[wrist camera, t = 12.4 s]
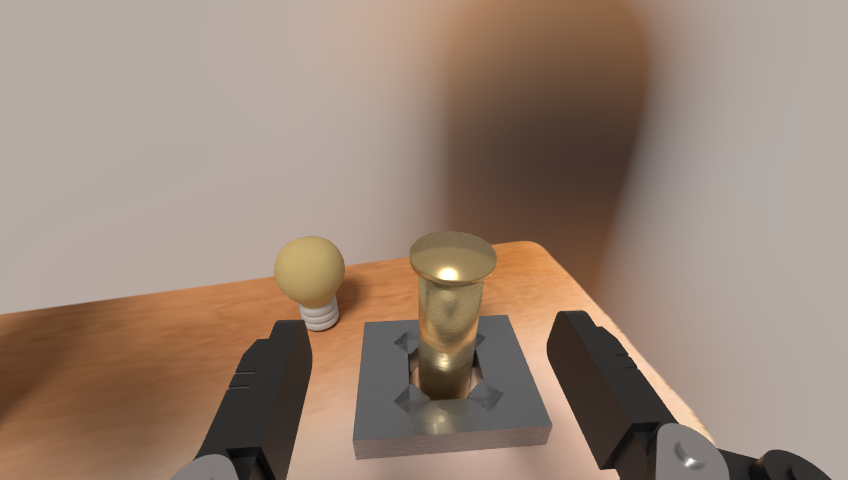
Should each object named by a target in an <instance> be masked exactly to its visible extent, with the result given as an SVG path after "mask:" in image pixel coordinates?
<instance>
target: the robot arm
mask: <svg viewBox="0 0 848 480" xmlns="http://www.w3.org/2000/svg"><path fill="white" fill-rule="evenodd" d="M547 356H548V359H549V362H550V364H551V366H552V369H553V371H554V373H555V375H556V377H557V379H558V381H559V384H560V386H561V388H562V390H563V392H564V394H565V396H566V399H567V401H568V403H569V405H570V407H571V409H572V411H573V413H574V416H575V418H576V420H577V422H578V424H579V426H580V428H581V431H582V433H583V435H584V437H585V439H586V441H587V443H588V446H589V448H590V450H591V452H592V454H593V456H594V458H595V460H596V463H597V465H598V467H599V469H600V470H605V469H616V471H617V473H618V475H619V477H620V480H831V479H830V478H829V477H828V476H827V475H826V474H825V473H824V472H823V471H821V470H820V469H819V468H817V467H816V466H815V465H813V464H812V463H810V462H809V461H807V460H805V459H803V458H802V457H800V456H798V455H795V454H793V453H790V452H787V451H783V450H771V451H768V452H767V453H766V454H764V455H763V456H762V457H761V458H760V459H755V458H751V457H748V456H744V455H740V454H736V453H732V452H728V451H725V450H721V449H718V448H716V447H715V446H714V445H713V444H712V443H711V442H710V441H709V440H708V439H707V438H705V437H704V436H703V435H702V434H700V433H698V432H697V431H695V430H693V429H691V428H689V427H687V426H685V425H681V424H679V423H678V422H677V420H676V419H675V418H674V417H673V415H672V414H671V413H670V411H669V410H668V408H667V407H666V406H665V404H664V403H663V401H662V400H661V399H660V397H659V396H658V394H657V393H656V392H655V390H654V389H653V388H652V386H651V385H650V383H649V382H648V381H647V379H646V378H645V376H644V375H643V374H642V372H641V371H640V370H638V369H637V365H636V364H635V363H634V361H633V360H632V358H631V357H629V356H628V353H627V351H626V350H625V349H624V347H623V346H622V345H621V343H620V342H619V340H618V339H617V338H616V337H614V336H613V335H612V334H611V333H610V332H608V331H607V330H606V329H605V328H603V327H602V326H601V327H597V326H596V325H595V323H594V322H593V321H592V319H591V318H590V316H589V315H588V313H586V312H585V311H583V310H580V311H560V312H558V313H557V315H556V318H555V321H554V324H553V327H552V330H551V332H550V335H549V338H548V341H547ZM311 370H312V350H311V345H310V341H309V337H308V332H307V328H306V324H305V321H304V320H278V321H276V323H275V324H274V327H273V329H272V332H271V334H270V337H269V339H257V340H256V341H255V342H254V343H253V345H252V346H251V347H250V348H249V349H248V350H247V351H246V352H245V353H244V354H243V356H242V358H241V361H240V363H239V365H238V367H237V369H236V374H235V375H234V376H233V378H232V380H231V383H230V385H229V389H228V390H227V391H226V394H225V396H224V398H223V400H222V402H221V405H220V407H219V409H218V411H217V413H216V416H215V418H214V420H213V422H212V424H211V427H210V429H209V431H208V433H207V435H206V438H205V440H204V442H203V444H202V446H201V448H200V450H199V452H198V454H197V455H196V457H195V458H194V459H193V461H192V462H190V463H188V464H187V465H186V466H184V467H183V468H182V469H180V470H179V471H178V472H177V473H176V474H175V475H174V476H173V477H172V478H171V480H286V477H287V473H288V469H289V464H290V460H291V456H292V452H293V447H294V443H295V439H296V435H297V430H298V426H299V422H300V418H301V413H302V409H303V405H304V401H305V396H306V392H307V388H308V383H309V379H310V375H311Z"/></svg>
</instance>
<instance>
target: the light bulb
mask: <svg viewBox="0 0 848 480" xmlns="http://www.w3.org/2000/svg"><path fill="white" fill-rule="evenodd" d="M344 273H345V265H344V260H343V257H342V255H341V253H340V251H339V250H338V248H337V247H336V246H335V245H334V244H333V243H332V242H330V241H329V240H327V239H325V238H322V237H314V236H309V237H302V238H298V239H296V240H293V241H291V242H289V243H288V244H286V245H285V246H284V247H283V248H282V249H281V251H280V252H279V254H278V256H277V259H276V262H275V268H274V274H275V280H276V282H277V285H278V287H279V288H280V290H281V291H282V292H283V293H284V294H285V295H286V296H287V297H289V298H290V299H292V300H294V301H296V302H298V306H299V310H300V314H301V317H302V320H304V321H305V324H306V328H308V329H310V330H313V331H320V330H325V329H327V328H329V327H331V326H332V325H334V324H335V322H336V321H337V319H338V317H339V311H338V305H337V302H336V301H337V300H336V295H335V293H336V291H337V290H338V288H339V287H340V285H341V283H342V281H343V278H344Z"/></svg>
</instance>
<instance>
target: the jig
mask: <svg viewBox="0 0 848 480" xmlns="http://www.w3.org/2000/svg"><path fill="white" fill-rule="evenodd" d="M418 344H419V320H401V321H382V322H365V326H364V335H363V345H362V355H361V365H360V374H359V384H358V394H357V404H356V413H355V423H354V433H353V445H354V450H355V455H356V460H357V459H369V458H381V457H394V456H406V455H419V454H431V453H443V452H456V451H468V450H481V449H493V448H505V447H518V446H530V445H543V444H546V442H547V439H548V436H549V434H550V431H551V428H552V423H551V421H550V418H549V416H548V413H547V411H546V409H545V406H544V404H543V401H542V399H541V396H540V394H539V391H538V389H537V387H536V384H535V382H534V379H533V377H532V374H531V372H530V369H529V367H528V365H527V362H526V360H525V357H524V355H523V352H522V350H521V347H520V345H519V343H518V340H517V338H516V335H515V333H514V330H513V328H512V325H511V323H510V321H509V318H508V316H507V315H496V316H479V320H478V327H477V334H476V341H475V349H474V356H473V363H472V368H474V372H475V376H476V380H477V385H476V386H475V388H474V389H473V390H472V391H471V392H470V394H469V395H468V396H467V398H464V399H450V400H436V401H431V399H430V398H429V397H428V396H427V395H425V394H424V393H423V392H422V391H420V390H419V389H418V388H416V387H415V386H414V385H413V384H410V385H409V372H410V373H411V372H412V371H413V370H414V369H415V368H416V367H417V366H418Z"/></svg>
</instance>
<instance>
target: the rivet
mask: <svg viewBox="0 0 848 480" xmlns="http://www.w3.org/2000/svg"><path fill="white" fill-rule="evenodd" d="M496 260H497V256H496V252H495V250H494V249H493V247H492V246H491V245H490V244H489V243H488V242H486V241H485V240H483V239H481V238H479V237H477V236H474V235H471V234H467V233H463V232H454V231H443V232H436V233H431V234H428V235H426V236H423V237H421V238H420V239H418V240H417V241H416V242H415V243H414V244H413V245H412V247H411V249H410V264H411V266H412V268H413V270H414V271H415V272H416V273H417V274H418V275H419V344H418V389H419V390H420V391H422V392H423V393H424V394H425V395H427V396H428V397H429V398H430V399H431V401H436V400H450V399H464V398H467V396H468V392H469V385H470V378H471V370H472V363H473V356H474V349H475V341H476V334H477V327H478V320H479V313H480V305H481V298H482V291H483V284H484V280H486V279H487V278H489V277H490V276H491V275H492V274H493V272H494V270H495V267H496Z"/></svg>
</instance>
